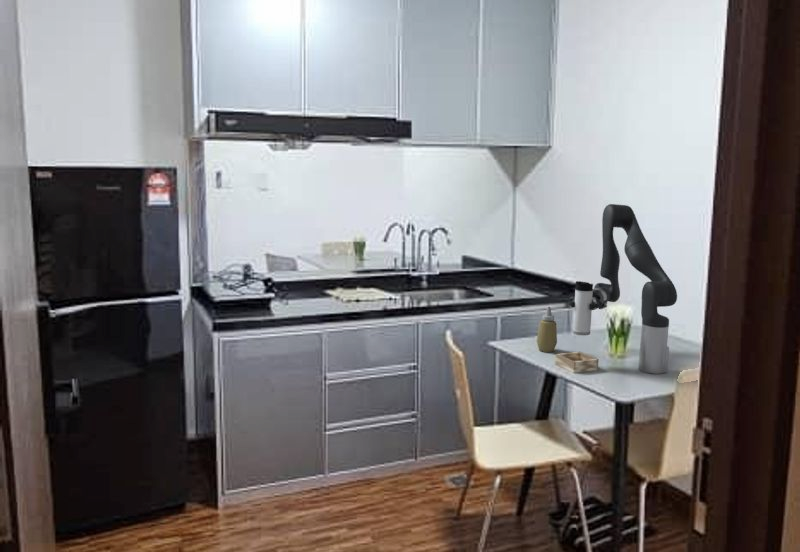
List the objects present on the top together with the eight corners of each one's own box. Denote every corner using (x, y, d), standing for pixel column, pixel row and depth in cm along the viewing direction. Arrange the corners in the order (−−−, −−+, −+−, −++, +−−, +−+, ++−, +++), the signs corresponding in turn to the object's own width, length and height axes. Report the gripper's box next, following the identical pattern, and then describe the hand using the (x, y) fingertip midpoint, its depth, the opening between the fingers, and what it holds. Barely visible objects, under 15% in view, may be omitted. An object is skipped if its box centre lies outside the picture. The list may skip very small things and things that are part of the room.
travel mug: (568, 332, 261) (571, 280, 257) (583, 330, 263) (586, 279, 260) (579, 336, 255) (582, 283, 252) (593, 334, 258) (596, 282, 254)
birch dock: (578, 361, 264) (579, 351, 263) (597, 369, 254) (598, 359, 253) (555, 364, 259) (555, 354, 259) (573, 372, 250) (574, 362, 249)
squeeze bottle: (546, 346, 285) (549, 304, 282) (560, 351, 278) (563, 307, 275) (531, 349, 280) (534, 305, 277) (546, 354, 274) (548, 309, 271)
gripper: (577, 287, 272) (562, 293, 258) (613, 291, 265) (601, 298, 251) (575, 305, 274) (561, 313, 260) (612, 310, 266) (599, 318, 252)
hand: (581, 305), depth 255 cm, fingers closed on travel mug, 6 cm apart
